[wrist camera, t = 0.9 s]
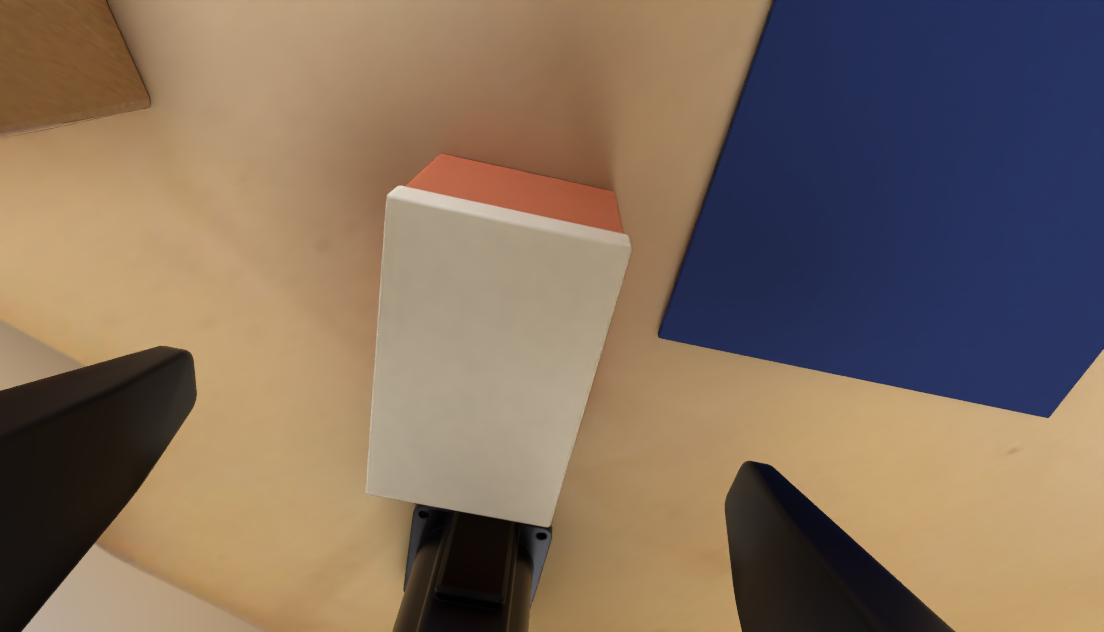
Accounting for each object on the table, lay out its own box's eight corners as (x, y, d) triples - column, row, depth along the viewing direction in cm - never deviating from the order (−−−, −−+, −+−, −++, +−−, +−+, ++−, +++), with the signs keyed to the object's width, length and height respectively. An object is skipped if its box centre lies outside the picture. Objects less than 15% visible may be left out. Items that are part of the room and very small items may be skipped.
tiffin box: (555, 422, 23) (549, 529, 18) (410, 394, 23) (364, 495, 18) (618, 189, 19) (633, 247, 14) (437, 148, 18) (385, 194, 13)
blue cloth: (1043, 413, 22) (1048, 418, 22) (657, 334, 21) (658, 338, 21) (1409, -54, 15) (1424, -55, 15) (844, -208, 14) (850, -212, 14)
